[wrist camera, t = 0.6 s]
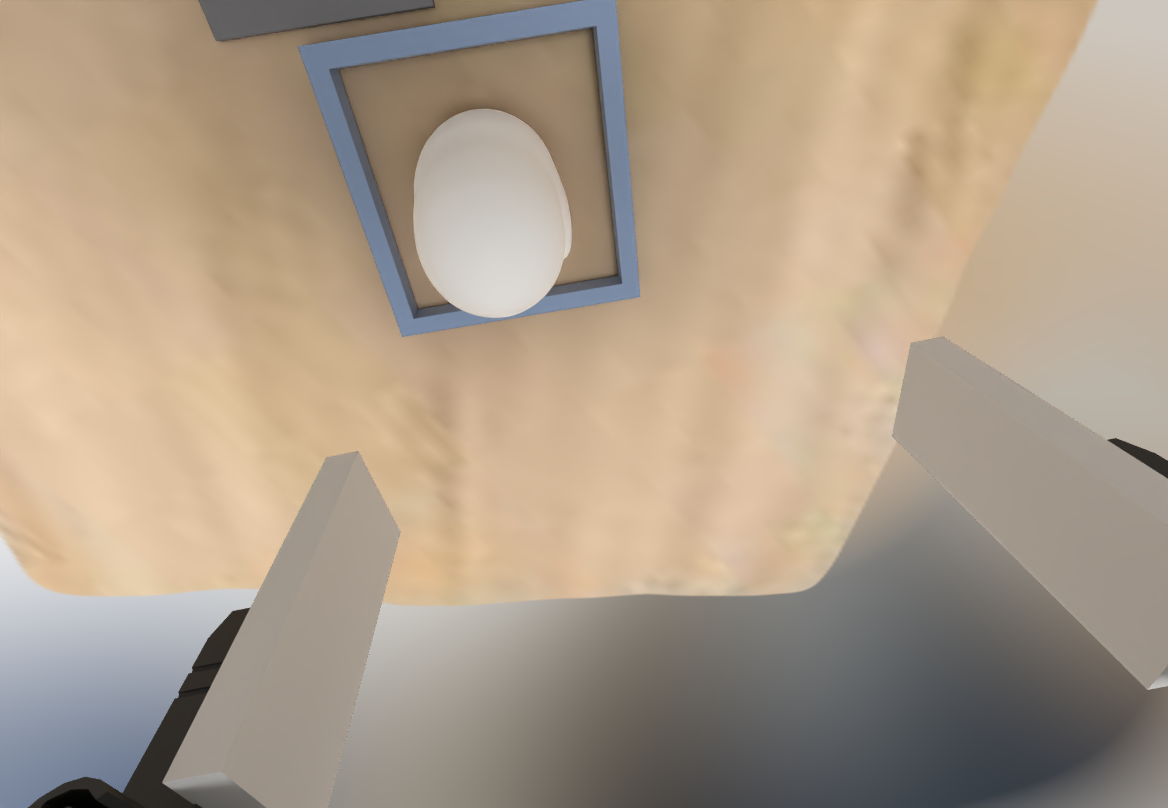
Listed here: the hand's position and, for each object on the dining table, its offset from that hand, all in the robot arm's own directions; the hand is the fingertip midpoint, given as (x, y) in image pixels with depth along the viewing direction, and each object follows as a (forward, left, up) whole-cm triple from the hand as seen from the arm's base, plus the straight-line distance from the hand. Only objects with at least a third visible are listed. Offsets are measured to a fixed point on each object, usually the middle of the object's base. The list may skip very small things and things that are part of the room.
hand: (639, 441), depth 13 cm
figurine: (-3, -4, -21) cm, 22 cm away
